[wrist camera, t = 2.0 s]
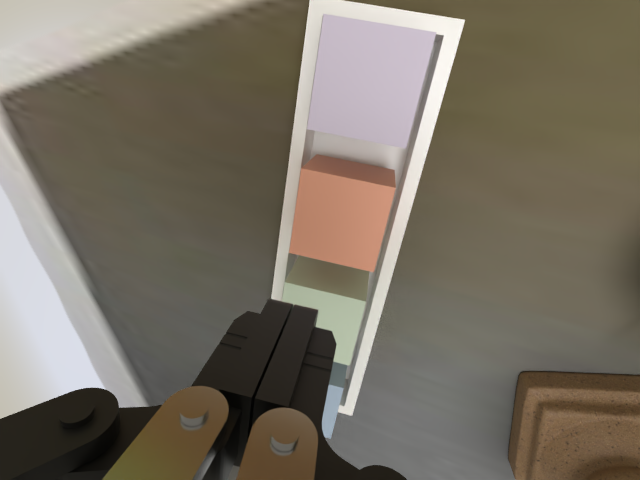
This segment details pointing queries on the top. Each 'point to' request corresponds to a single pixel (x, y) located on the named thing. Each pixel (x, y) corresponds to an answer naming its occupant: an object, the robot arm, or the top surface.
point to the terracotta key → (342, 211)
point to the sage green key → (330, 299)
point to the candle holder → (575, 427)
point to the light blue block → (333, 397)
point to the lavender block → (368, 79)
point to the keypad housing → (367, 159)
